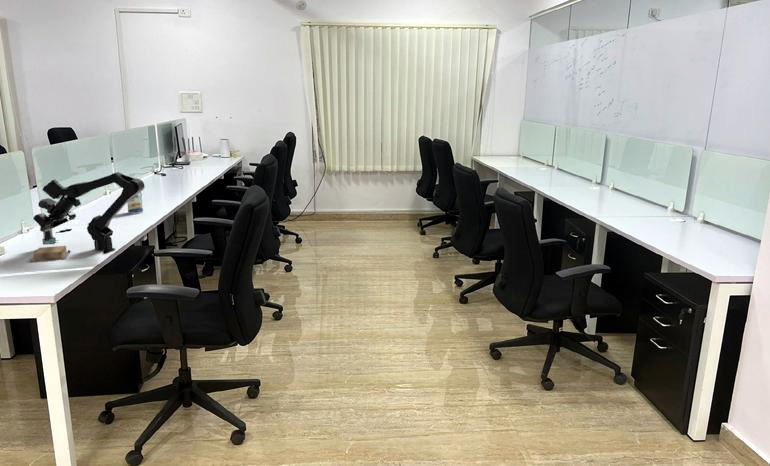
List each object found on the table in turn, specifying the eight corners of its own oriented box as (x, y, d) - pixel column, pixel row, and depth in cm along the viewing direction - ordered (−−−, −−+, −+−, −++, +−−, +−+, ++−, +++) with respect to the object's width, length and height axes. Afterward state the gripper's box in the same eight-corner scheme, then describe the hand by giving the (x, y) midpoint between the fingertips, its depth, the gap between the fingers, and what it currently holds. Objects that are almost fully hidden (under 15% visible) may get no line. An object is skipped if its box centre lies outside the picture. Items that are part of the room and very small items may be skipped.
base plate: (71, 253, 241) (71, 249, 240) (65, 261, 229) (64, 258, 229) (37, 255, 237) (37, 252, 236) (29, 264, 225) (29, 260, 224)
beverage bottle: (146, 211, 329) (142, 178, 324) (138, 214, 320) (135, 180, 316) (132, 210, 329) (129, 177, 324) (125, 213, 321) (121, 179, 316)
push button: (61, 242, 249) (58, 220, 246) (56, 245, 244) (53, 223, 241) (45, 242, 248) (42, 221, 245) (40, 245, 242) (37, 223, 240)
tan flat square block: (66, 252, 239) (65, 245, 238) (61, 258, 230) (60, 251, 229) (40, 254, 236) (39, 247, 235) (34, 260, 226) (33, 253, 226)
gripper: (66, 189, 248) (49, 212, 253) (33, 196, 230) (15, 221, 235) (84, 206, 248) (66, 229, 253) (52, 215, 231) (34, 239, 235)
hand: (46, 229), depth 244 cm, fingers closed on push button, 5 cm apart
